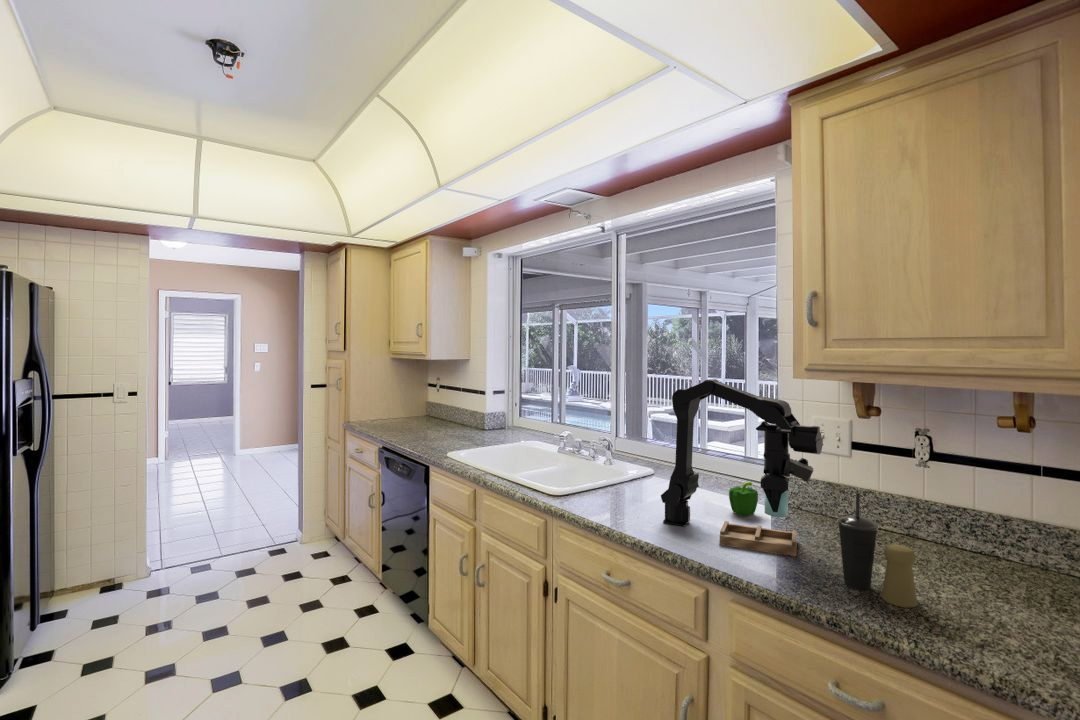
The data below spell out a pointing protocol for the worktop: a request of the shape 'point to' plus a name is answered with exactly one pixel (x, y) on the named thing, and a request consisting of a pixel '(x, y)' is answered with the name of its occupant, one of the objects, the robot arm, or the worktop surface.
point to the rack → (758, 538)
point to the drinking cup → (857, 548)
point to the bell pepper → (743, 500)
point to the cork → (899, 576)
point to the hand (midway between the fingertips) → (775, 508)
